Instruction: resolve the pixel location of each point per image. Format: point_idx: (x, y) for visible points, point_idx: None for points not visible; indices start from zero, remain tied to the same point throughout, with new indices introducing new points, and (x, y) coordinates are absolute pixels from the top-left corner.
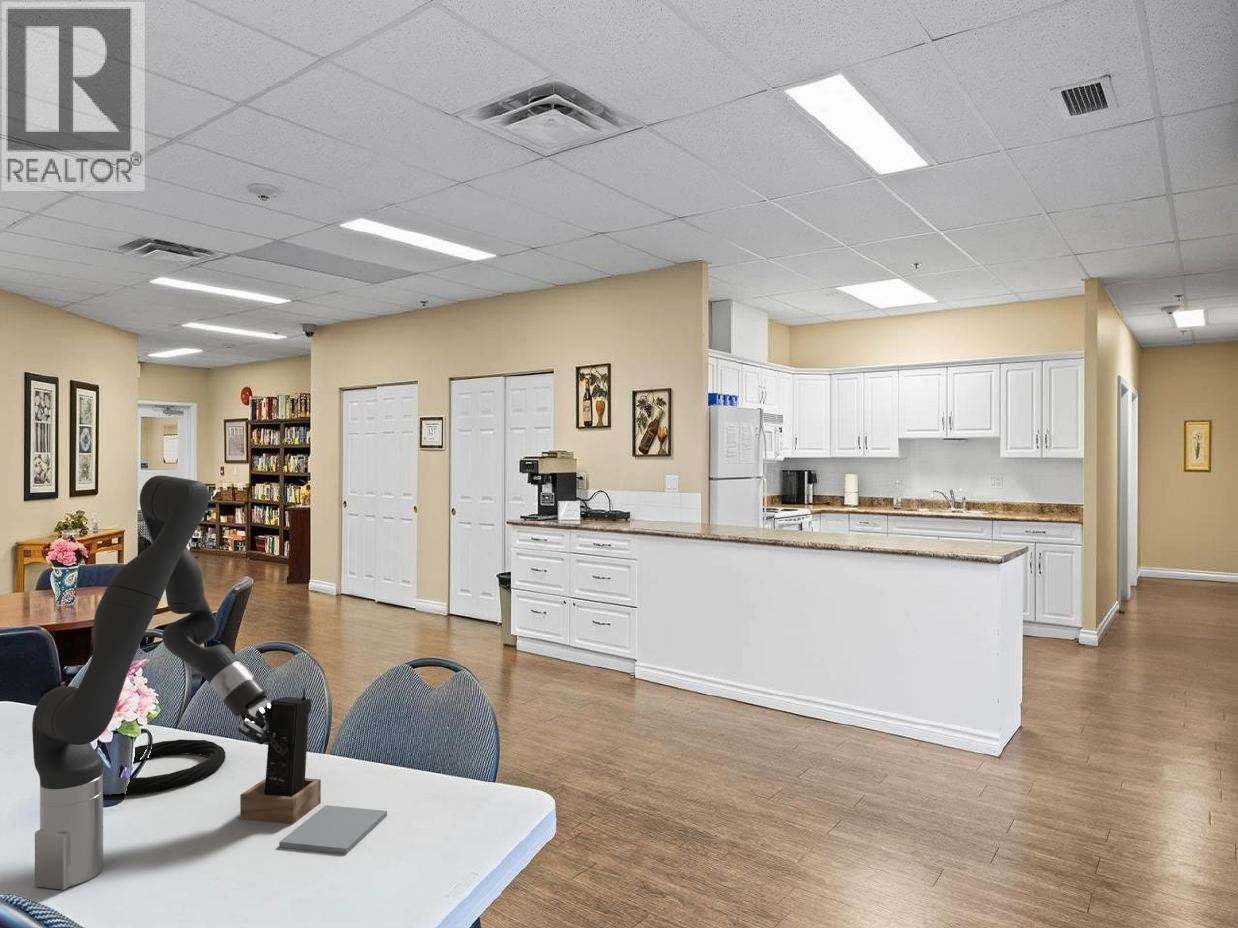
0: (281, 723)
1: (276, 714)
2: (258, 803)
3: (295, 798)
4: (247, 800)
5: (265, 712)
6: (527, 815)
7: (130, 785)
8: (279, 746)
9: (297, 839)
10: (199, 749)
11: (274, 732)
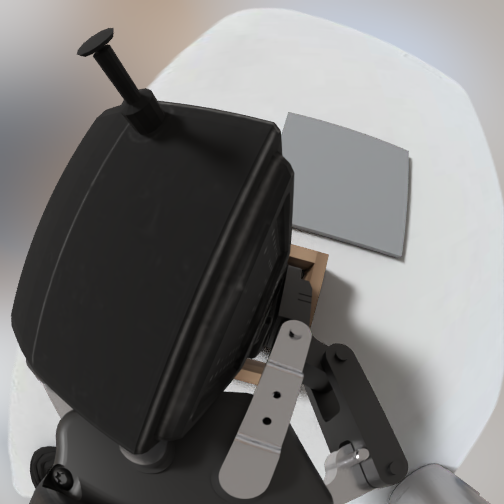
0: (245, 315)
1: (216, 364)
2: None
3: (319, 252)
4: None
5: (240, 445)
6: (287, 15)
7: None
8: (311, 299)
9: (393, 227)
10: (45, 475)
11: (298, 335)
